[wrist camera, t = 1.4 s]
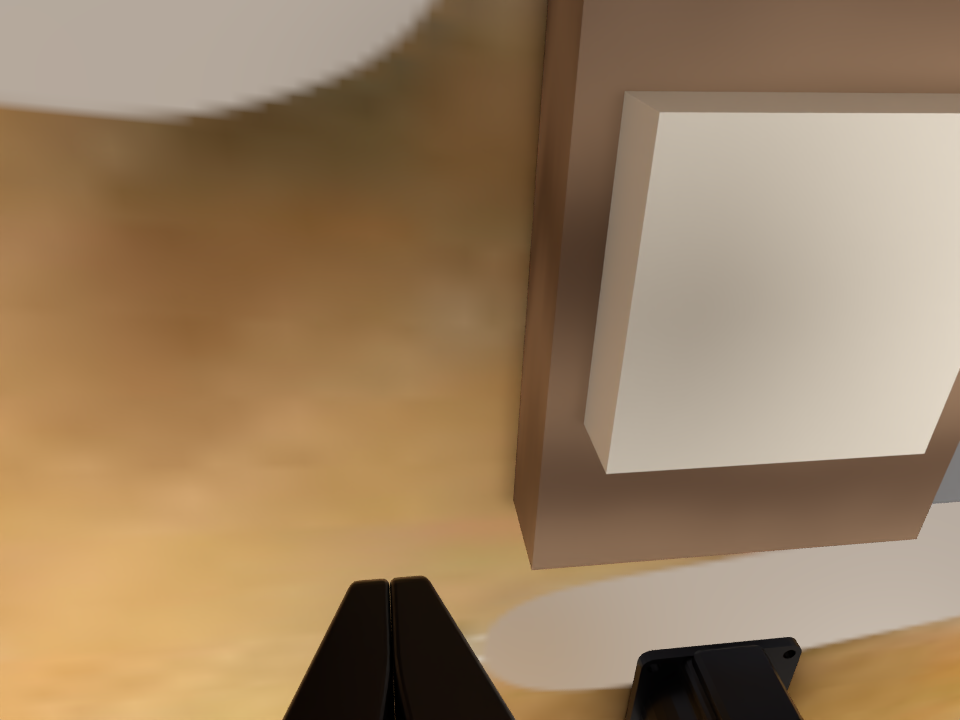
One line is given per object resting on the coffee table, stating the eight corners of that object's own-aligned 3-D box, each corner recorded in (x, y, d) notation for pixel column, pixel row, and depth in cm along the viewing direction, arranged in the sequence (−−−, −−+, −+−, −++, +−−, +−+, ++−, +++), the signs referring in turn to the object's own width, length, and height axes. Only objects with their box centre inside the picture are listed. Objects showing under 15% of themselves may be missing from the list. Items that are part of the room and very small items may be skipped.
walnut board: (859, 476, 25) (916, 538, 22) (513, 500, 23) (532, 570, 21) (1098, -172, 16) (1238, -191, 13) (562, -205, 14) (605, -234, 12)
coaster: (875, 407, 20) (924, 453, 18) (583, 423, 18) (606, 474, 17) (988, 93, 16) (1066, 113, 14) (624, 90, 14) (659, 112, 13)
